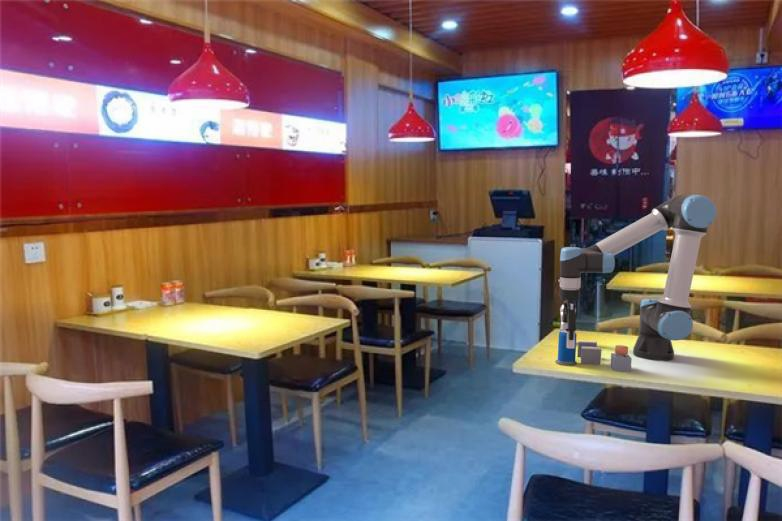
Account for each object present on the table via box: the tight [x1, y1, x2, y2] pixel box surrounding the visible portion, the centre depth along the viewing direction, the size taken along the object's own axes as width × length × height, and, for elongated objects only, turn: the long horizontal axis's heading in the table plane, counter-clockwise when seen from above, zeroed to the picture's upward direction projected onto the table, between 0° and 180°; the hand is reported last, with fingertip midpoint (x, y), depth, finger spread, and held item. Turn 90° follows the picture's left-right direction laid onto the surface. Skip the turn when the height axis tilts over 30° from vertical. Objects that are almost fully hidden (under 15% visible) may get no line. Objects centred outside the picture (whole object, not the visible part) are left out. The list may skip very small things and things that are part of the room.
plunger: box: [614, 344, 629, 357], centre depth 226 cm, size 4×4×7 cm
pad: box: [554, 359, 578, 367], centre depth 233 cm, size 8×8×1 cm
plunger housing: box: [610, 352, 632, 373], centre depth 226 cm, size 6×6×5 cm
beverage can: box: [557, 329, 577, 364], centre depth 233 cm, size 6×6×12 cm
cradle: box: [576, 339, 602, 366], centre depth 236 cm, size 7×11×6 cm, turn 171°
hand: (568, 343), depth 232 cm, fingers open, 13 cm apart
